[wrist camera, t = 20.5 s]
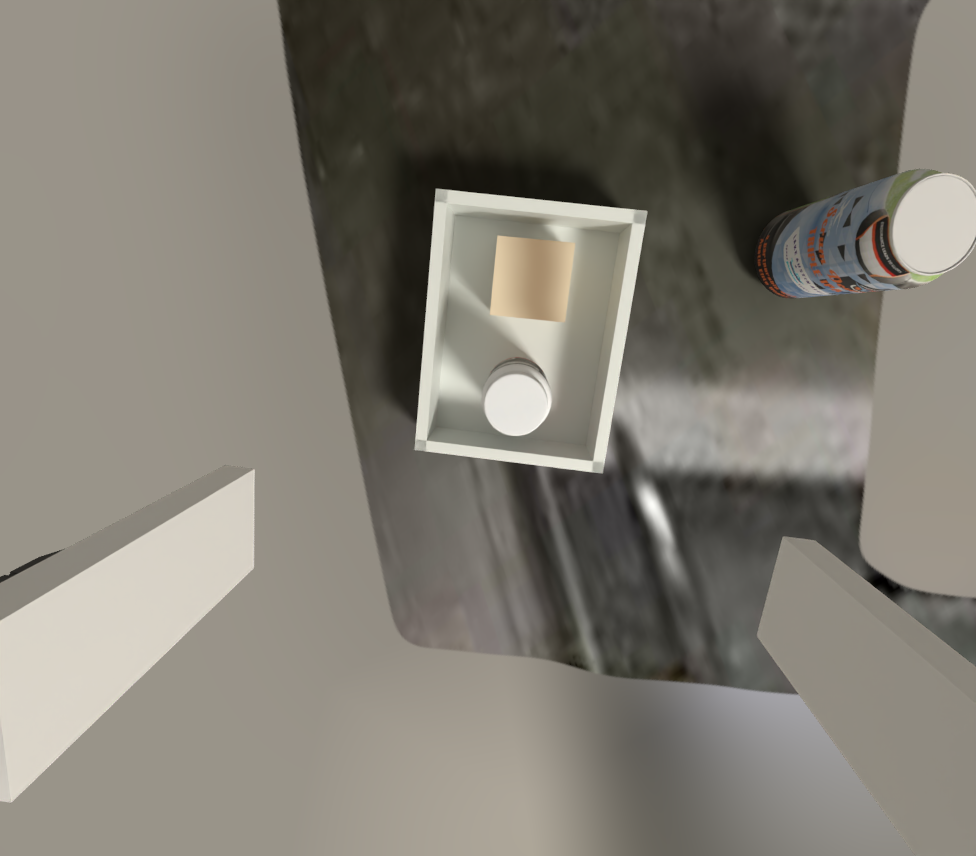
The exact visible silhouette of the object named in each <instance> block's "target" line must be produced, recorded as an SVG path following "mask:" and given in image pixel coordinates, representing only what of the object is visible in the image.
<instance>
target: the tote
mask: <svg viewBox="0 0 976 856" xmlns="http://www.w3.org/2000/svg"><path fill="white" fill-rule="evenodd" d="M646 217H647V211H641V210H632V209H623V208H613V207H604V206H594V205H585V204H576V203H566V202H557V201H547V200H538V199H529V198H519V197H510V196H500V195H491V194H482V193H472V192H463V191H453V190H444V189H436V193H435V206H434V218H433V230H432V243H431V255H430V267H429V280H428V292H427V304H426V317H425V329H424V341H423V354H422V366H421V378H420V390H419V403H418V415H417V427H416V440H415V450H420V451H428V452H436V453H444V454H452V455H460V456H468V457H476V458H484V459H492V460H500V461H508V462H516V463H524V464H532V465H540V466H548V467H556V468H564V469H572V470H580V471H588V472H596V473H603V468H604V462H605V457H606V451H607V445H608V439H609V433H610V427H611V421H612V416H613V410H614V404H615V398H616V392H617V386H618V380H619V375H620V369H621V363H622V357H623V351H624V345H625V340H626V334H627V328H628V322H629V316H630V310H631V304H632V299H633V293H634V287H635V281H636V275H637V269H638V263H639V258H640V252H641V246H642V240H643V234H644V228H645V223H646ZM497 235H498V236H508V237H519V238H529V239H540V240H550V241H561V242H571V243H575V249H574V257H573V265H572V272H571V280H570V288H569V296H568V303H567V311H566V319H565V322H555V321H545V320H535V319H525V318H516V317H506V316H496V315H490V307H491V297H492V286H493V276H494V266H495V256H496V245H497ZM513 357H521V358H526V359H529V360H531V361H533V362H534V363H536V364H537V365H538V366H539V367H540V368H541V369H542V370H543V372H544V374H545V376H546V378H547V381H548V384H549V386H550V390H551V395H552V403H551V408H550V411H549V413H548V415H547V417H546V419H545V420H544V421H543V422H542V423H541V424H540V425H539V426H538V427H537V428H536V429H535V430H534V431H532V432H530V433H528V434H525V435H521V436H510V435H506V434H503V433H501V432H499V431H498V430H496V429H495V428H494V427H493V426H492V425H491V424H490V423H489V421H488V419H487V417H486V415H485V413H484V411H483V407H482V402H481V397H482V390H483V387H484V384H485V382H486V380H487V379H488V377H489V375H490V372H491V371H492V370H493V368H494V367H495V366H496V365H497V364H499V363H500V362H502V361H503V360H506V359H508V358H513Z"/></svg>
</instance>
